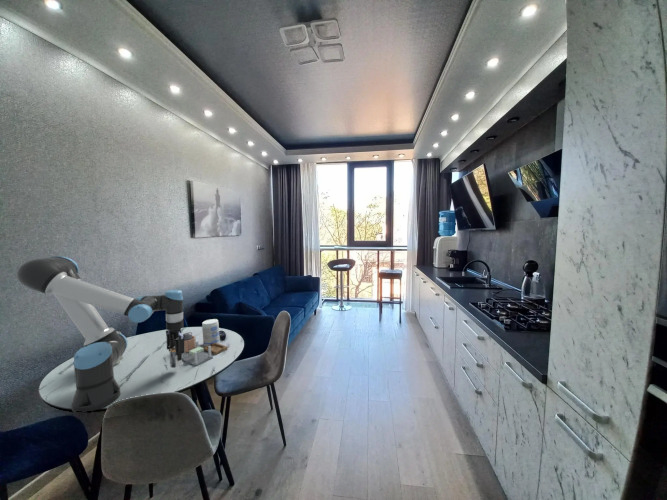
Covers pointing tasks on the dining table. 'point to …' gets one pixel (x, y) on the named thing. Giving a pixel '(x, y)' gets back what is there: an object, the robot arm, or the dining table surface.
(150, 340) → the dining table surface
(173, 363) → the cell
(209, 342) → the supplement tub
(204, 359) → the checker cradle
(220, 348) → the brown wooden tray
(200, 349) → the checker pad
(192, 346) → the orange canister
